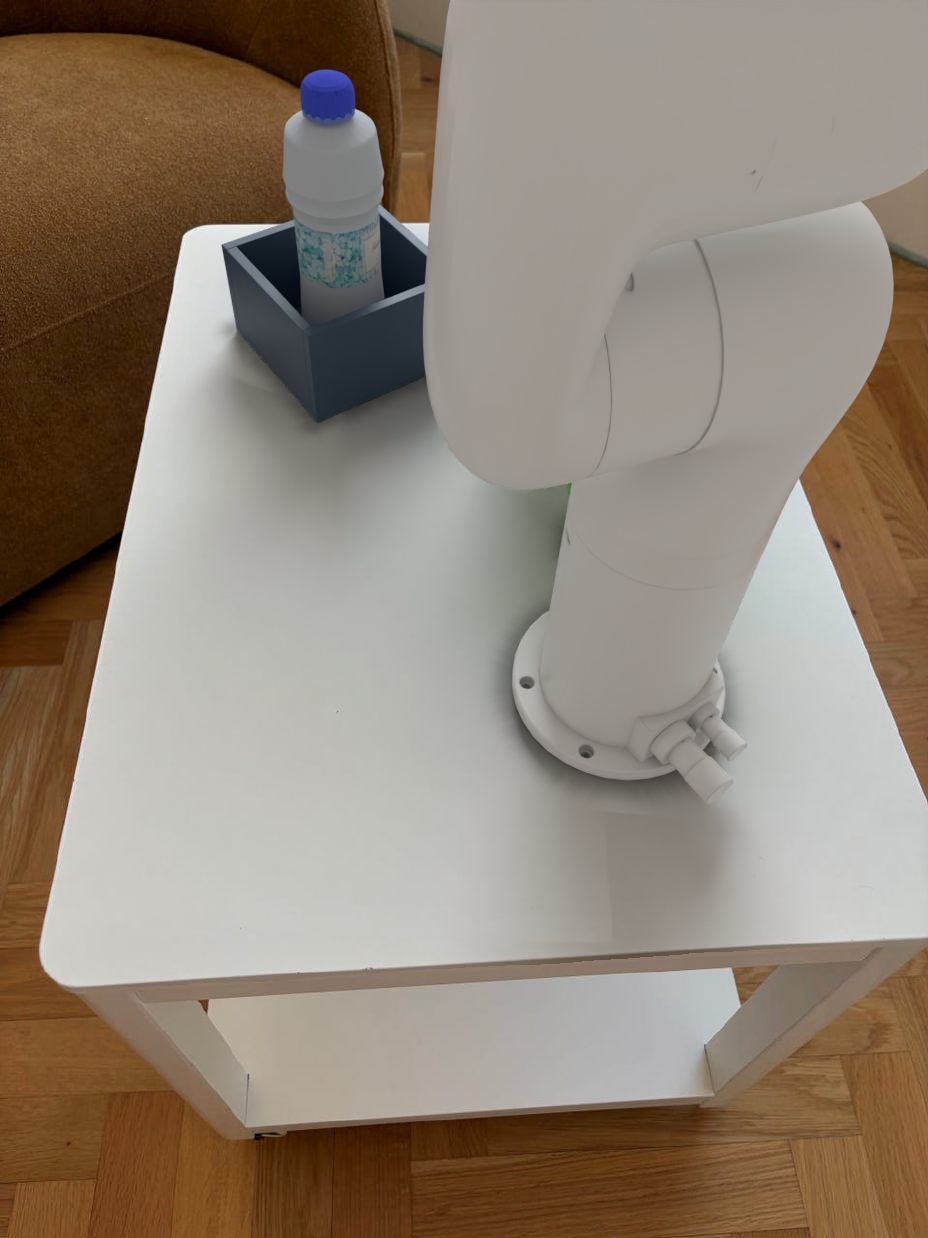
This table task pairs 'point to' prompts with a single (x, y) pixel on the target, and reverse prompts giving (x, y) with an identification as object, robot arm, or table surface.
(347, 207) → the bottle
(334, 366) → the bin
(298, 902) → the table surface
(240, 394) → the table surface
